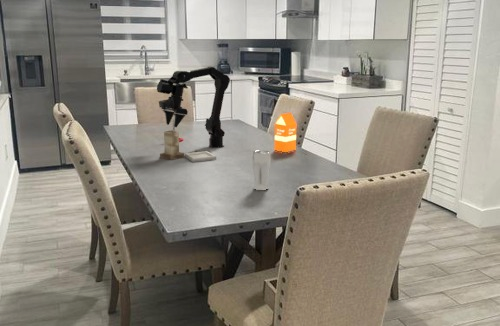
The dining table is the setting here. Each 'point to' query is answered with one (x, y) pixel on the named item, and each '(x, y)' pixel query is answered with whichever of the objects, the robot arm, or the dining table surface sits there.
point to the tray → (200, 156)
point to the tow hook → (174, 130)
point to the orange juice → (285, 133)
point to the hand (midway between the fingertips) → (171, 125)
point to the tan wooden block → (171, 142)
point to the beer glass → (261, 169)
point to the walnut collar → (171, 156)
